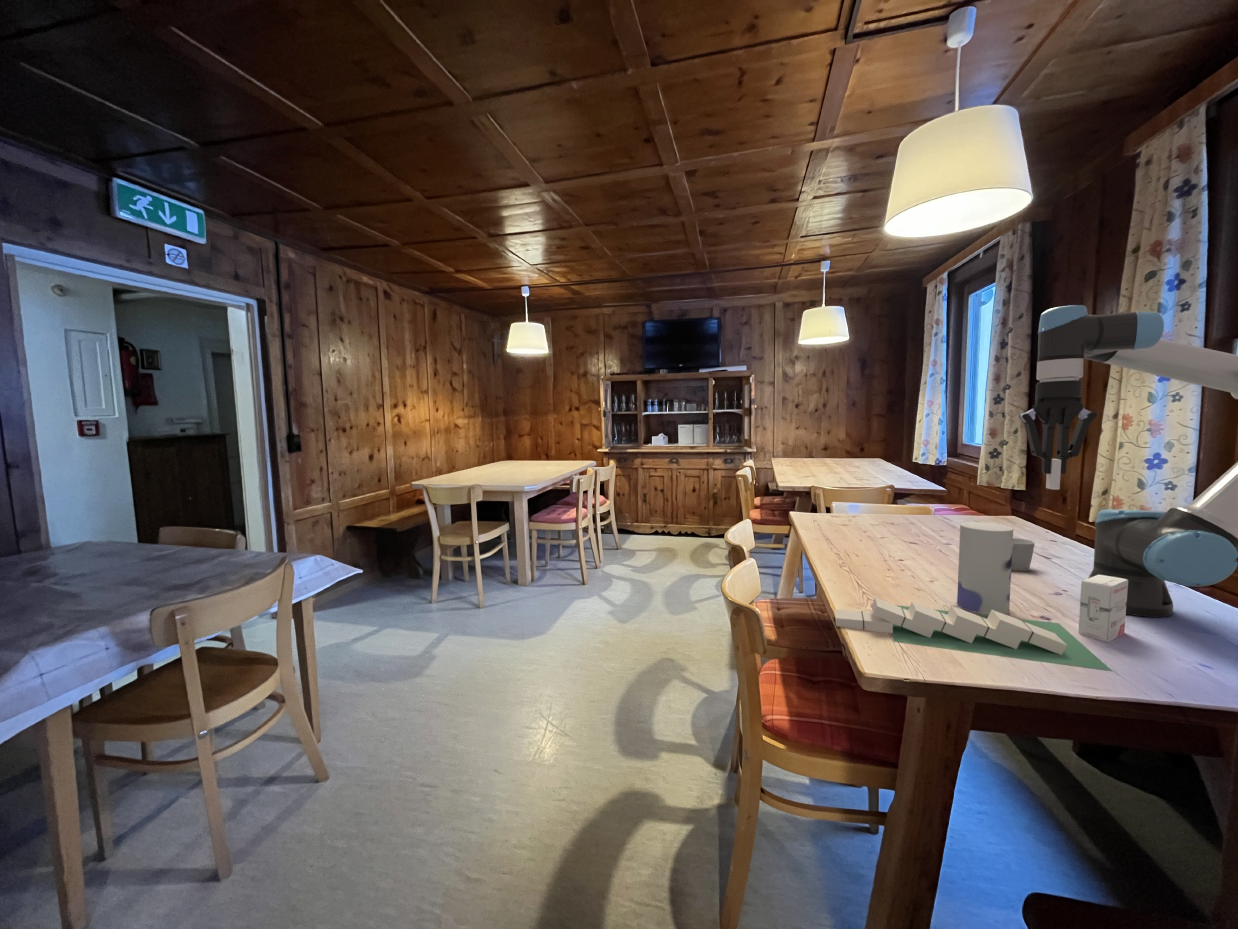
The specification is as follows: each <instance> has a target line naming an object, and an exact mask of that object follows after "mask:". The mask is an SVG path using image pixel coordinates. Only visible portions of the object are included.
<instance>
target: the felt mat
mask: <svg viewBox="0 0 1238 929" xmlns="http://www.w3.org/2000/svg"><path fill="white" fill-rule="evenodd" d="M895 605H896V606H898V607H901V608H903V609H906V610H908V609H909V607H910V606H906V605H905V606H904V605H898V604H895ZM932 609H933V610H936V611H938V612H941V613H944V614H946V615H947V614H948V612H949V610H943V609H942V610H941V609H934V608H932ZM974 614H975V615H977V616H981V617H983V618H985V619H987V618H988V616H989V614H981V613H974ZM1014 618H1015V619H1018V620H1021V621H1024V622H1026V623H1029V624H1031V625H1034V626H1037V627H1039V628H1042V629H1045V630H1047V631H1050V632H1053V633H1055V634H1056V635H1057V636H1058V637H1059V638H1060V639H1061V640H1062V641H1063V642H1064V643H1065V644H1067V647H1066V648H1065V650H1064V652H1063V654H1062V655H1060V654H1057V653H1055V652H1052V651H1050V650H1047V649H1045V648H1042V647H1039V646H1037V645H1034V644H1032V643H1029V642H1027V641H1024V640H1021V641H1020V643H1019V645H1018V647H1017V649H1014V648H1012V647H1009V646H1007V645H1004V644H1001V643H999V642H996V641H994V640H991V639H988V638H986V637H983V636H981V635H978V634H976V636H975V638H974V640H973V642H972V643H969V642H967V641H964V640H962V639H959V638H957V637H954V636H952V635H949V634H947V633H944V632H941V631H939V630H936V629H934V631H933V633H932V635H931V637H930V638H929V637H926V636H924V635H921V634H919V633H916V632H914V631H911V630H909V629H906V628H904V627H901V626H899V625H896V624H894V623H893V633H890V634H891V637H892V641H893V642H894V643H902V644H910V645H916V646H917V645H918V646H921V647H922V646H924V647H929V648H939V649H944V650H945V649H946V650H950V651H951V650H953V651H961V652H966V653H973V654H974V653H975V654H982V655H990V656H996V657H997V656H998V657H1002V658H1003V657H1004V658H1010V659H1019V660H1027V661H1034V662H1040V663H1049V664H1055V665H1063V666H1071V667H1078V668H1086V669H1091V670H1093V669H1094V670H1097V671H1098V670H1100V671H1106V672H1107V671H1108V672H1113V670H1112V669H1111V668H1110V667H1109V666H1108V665H1106V664H1105V663H1104V662H1103V661H1102V660H1101V659H1100V658H1098V657H1097V655H1096V654H1094V653H1093V652H1092V651H1091V650H1090V649H1089V648H1087V647H1086V646H1085V645H1084V644H1083V643H1082V642H1081V641H1079V640H1078V638H1076V637H1075V636H1074V635H1072V633H1071V632H1069V631H1068V630H1067V629H1066V628H1065V627H1064V626H1063V625H1062V624H1060V623H1058V622H1051V621H1042V620H1034V619H1033V620H1032V619H1024V618H1016V617H1014Z"/></svg>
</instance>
